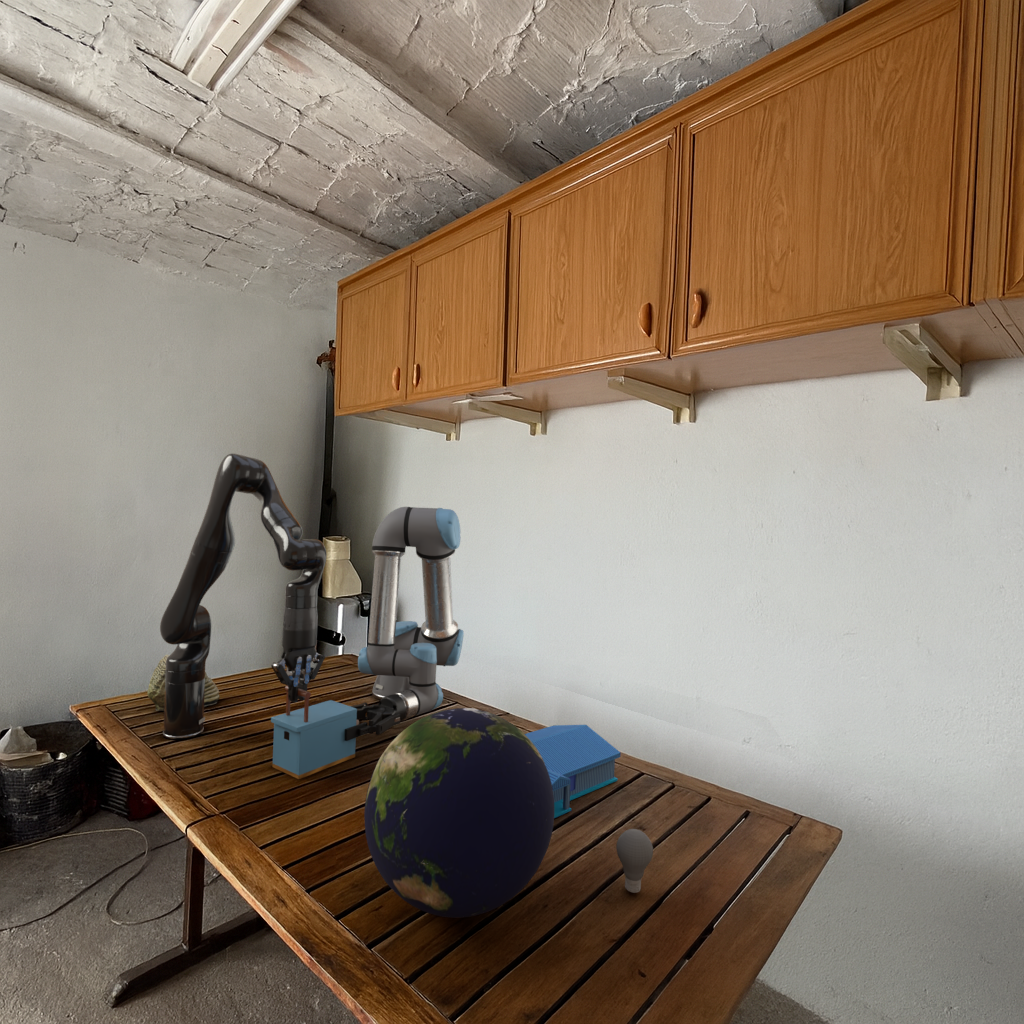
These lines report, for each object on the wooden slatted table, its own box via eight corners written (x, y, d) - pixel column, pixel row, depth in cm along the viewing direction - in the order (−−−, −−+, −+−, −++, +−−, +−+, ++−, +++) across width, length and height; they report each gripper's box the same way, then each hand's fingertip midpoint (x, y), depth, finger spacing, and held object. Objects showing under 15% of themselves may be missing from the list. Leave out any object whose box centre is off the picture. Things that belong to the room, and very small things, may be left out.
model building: (501, 841, 119) (503, 788, 119) (426, 793, 137) (428, 747, 137) (629, 785, 145) (631, 742, 145) (552, 750, 163) (554, 712, 163)
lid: (297, 732, 141) (298, 696, 140) (270, 722, 146) (271, 687, 146) (356, 713, 155) (358, 680, 154) (330, 704, 160) (331, 672, 160)
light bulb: (610, 879, 108) (613, 822, 108) (644, 879, 109) (647, 822, 109) (619, 902, 102) (622, 840, 102) (655, 901, 103) (658, 840, 103)
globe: (319, 928, 93) (327, 726, 93) (422, 833, 121) (429, 676, 120) (506, 997, 82) (516, 767, 81) (573, 874, 109) (581, 702, 109)
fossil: (144, 707, 182) (145, 655, 182) (212, 696, 194) (213, 647, 194) (151, 716, 175) (153, 662, 175) (221, 703, 188) (223, 653, 188)
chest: (298, 779, 141) (300, 731, 141) (272, 767, 147) (274, 721, 147) (355, 756, 155) (356, 713, 155) (329, 746, 160) (330, 704, 160)
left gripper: (284, 632, 138) (281, 711, 138) (334, 624, 149) (331, 697, 149) (263, 627, 142) (261, 704, 143) (314, 619, 153) (311, 690, 154)
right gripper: (427, 731, 166) (362, 757, 148) (368, 711, 179) (302, 733, 161) (428, 702, 166) (363, 725, 148) (369, 685, 179) (303, 704, 161)
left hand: (297, 700), depth 146 cm, fingers closed
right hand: (331, 729), depth 155 cm, fingers closed on chest, 10 cm apart
